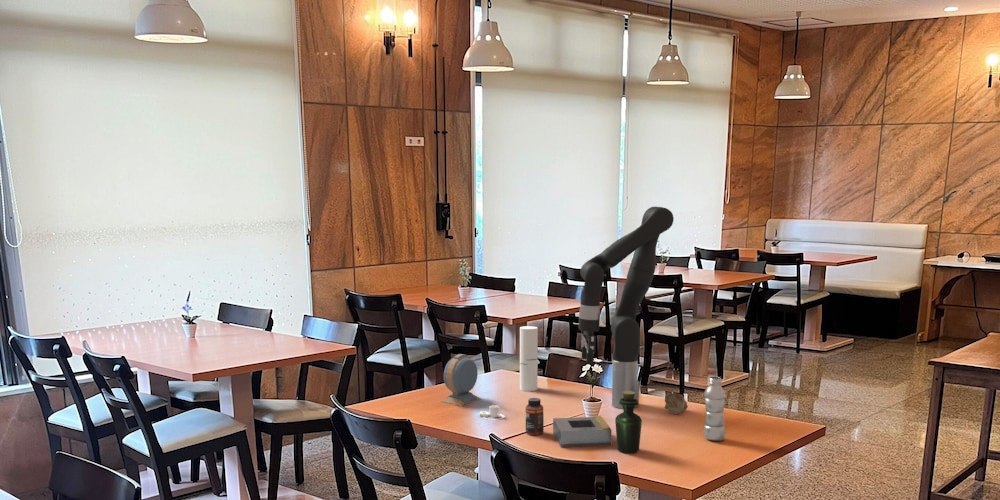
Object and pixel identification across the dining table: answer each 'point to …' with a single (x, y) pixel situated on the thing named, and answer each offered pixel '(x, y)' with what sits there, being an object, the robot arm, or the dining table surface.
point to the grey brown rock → (675, 403)
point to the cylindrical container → (528, 358)
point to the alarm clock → (460, 380)
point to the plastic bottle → (714, 410)
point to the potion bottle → (628, 425)
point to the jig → (582, 431)
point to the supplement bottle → (534, 417)
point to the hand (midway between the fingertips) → (587, 361)
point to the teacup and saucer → (492, 413)
